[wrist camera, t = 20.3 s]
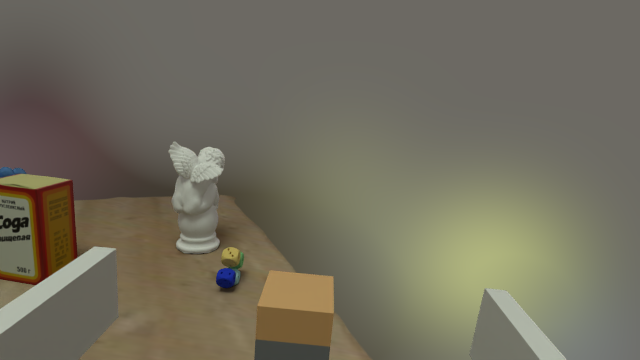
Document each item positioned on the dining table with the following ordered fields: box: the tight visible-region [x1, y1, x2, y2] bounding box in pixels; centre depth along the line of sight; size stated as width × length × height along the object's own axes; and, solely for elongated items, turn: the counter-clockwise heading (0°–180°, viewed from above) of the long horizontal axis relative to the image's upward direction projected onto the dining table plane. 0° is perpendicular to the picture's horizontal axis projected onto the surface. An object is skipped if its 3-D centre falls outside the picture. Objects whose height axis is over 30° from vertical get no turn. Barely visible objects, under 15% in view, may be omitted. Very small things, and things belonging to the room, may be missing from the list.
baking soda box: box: [0, 174, 77, 285], centre depth 59 cm, size 10×6×16 cm
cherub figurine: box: [169, 142, 225, 254], centre depth 73 cm, size 12×12×22 cm
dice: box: [216, 247, 244, 288], centre depth 63 cm, size 8×3×6 cm, turn 177°
